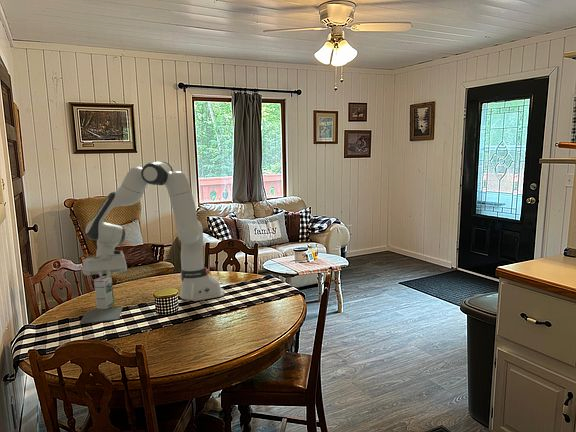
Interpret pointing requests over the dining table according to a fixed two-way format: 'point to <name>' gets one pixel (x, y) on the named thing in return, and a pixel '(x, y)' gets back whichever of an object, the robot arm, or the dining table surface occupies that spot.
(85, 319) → the mat
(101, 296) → the syrup box
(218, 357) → the dining table surface
